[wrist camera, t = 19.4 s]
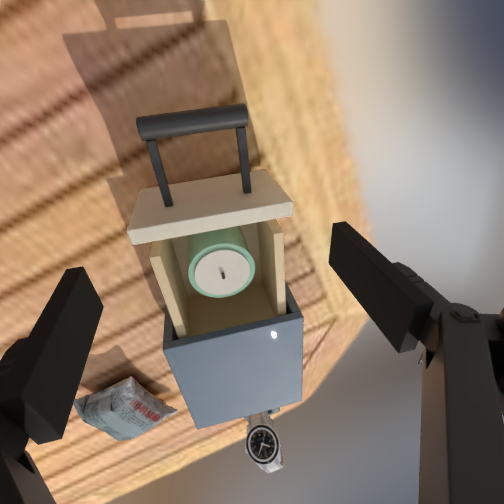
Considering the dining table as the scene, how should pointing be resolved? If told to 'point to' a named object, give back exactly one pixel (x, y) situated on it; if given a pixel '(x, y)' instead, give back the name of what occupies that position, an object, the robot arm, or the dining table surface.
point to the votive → (219, 262)
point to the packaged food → (123, 409)
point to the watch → (264, 441)
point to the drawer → (211, 225)
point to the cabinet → (238, 366)
